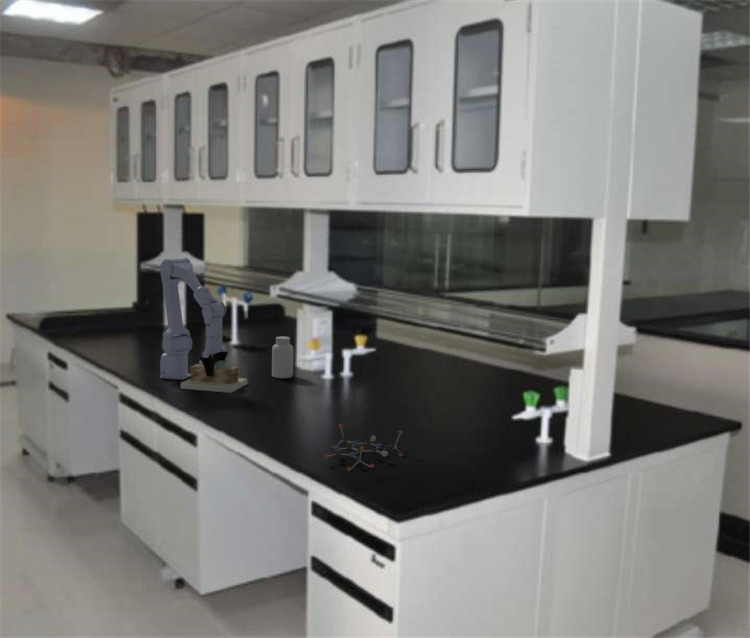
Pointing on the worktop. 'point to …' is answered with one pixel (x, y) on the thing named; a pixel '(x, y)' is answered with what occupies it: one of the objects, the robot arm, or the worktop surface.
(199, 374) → the tan notched block
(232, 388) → the dock
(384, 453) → the molecular model
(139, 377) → the worktop surface
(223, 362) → the block
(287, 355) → the pill bottle
